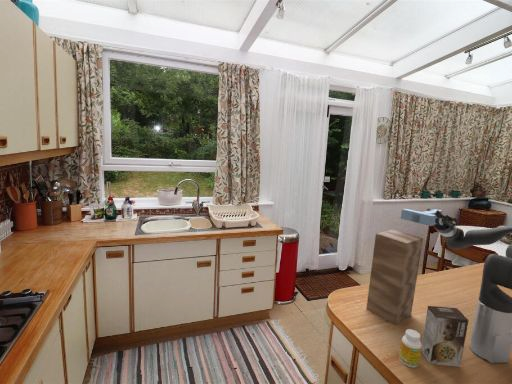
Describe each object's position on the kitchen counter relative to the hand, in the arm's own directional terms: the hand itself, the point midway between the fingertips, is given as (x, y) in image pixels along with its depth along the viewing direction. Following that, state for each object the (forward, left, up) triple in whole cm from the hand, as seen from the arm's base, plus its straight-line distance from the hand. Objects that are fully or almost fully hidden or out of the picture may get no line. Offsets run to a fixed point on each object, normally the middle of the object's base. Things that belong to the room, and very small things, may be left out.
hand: (432, 211), depth 122 cm
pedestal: (-12, +21, -39) cm, 46 cm away
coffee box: (-37, +18, -39) cm, 57 cm away
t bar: (-2, +3, -3) cm, 5 cm away
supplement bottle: (-38, +29, -39) cm, 62 cm away
